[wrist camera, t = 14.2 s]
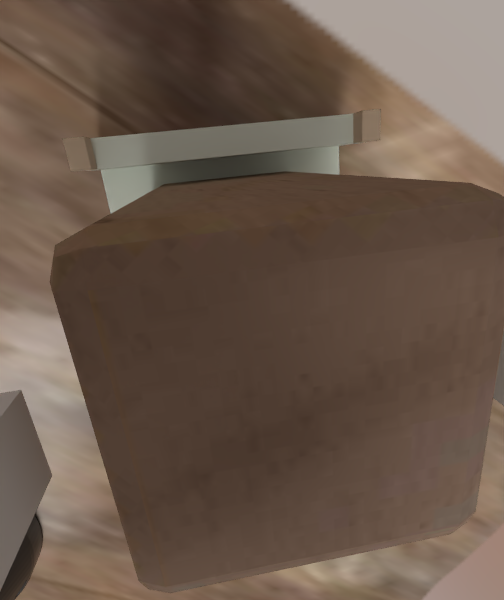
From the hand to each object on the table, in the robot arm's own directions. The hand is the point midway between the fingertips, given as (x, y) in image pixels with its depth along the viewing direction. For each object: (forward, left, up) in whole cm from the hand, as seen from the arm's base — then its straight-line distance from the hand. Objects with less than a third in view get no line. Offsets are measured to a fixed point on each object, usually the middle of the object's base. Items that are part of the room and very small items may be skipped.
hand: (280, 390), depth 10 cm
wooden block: (0, 0, -18) cm, 18 cm away
